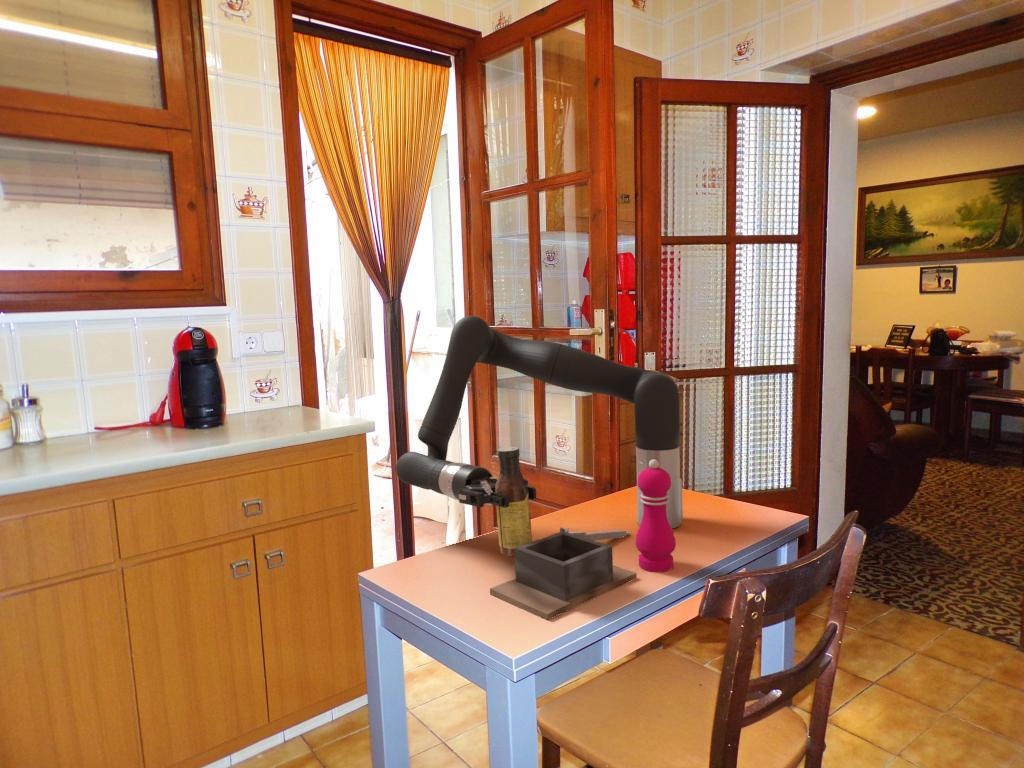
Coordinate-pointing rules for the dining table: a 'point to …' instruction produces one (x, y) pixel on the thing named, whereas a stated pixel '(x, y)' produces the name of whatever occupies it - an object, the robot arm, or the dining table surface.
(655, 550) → the pepper mill
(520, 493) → the sauce bottle
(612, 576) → the bottle caddy
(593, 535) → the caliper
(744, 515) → the dining table surface
